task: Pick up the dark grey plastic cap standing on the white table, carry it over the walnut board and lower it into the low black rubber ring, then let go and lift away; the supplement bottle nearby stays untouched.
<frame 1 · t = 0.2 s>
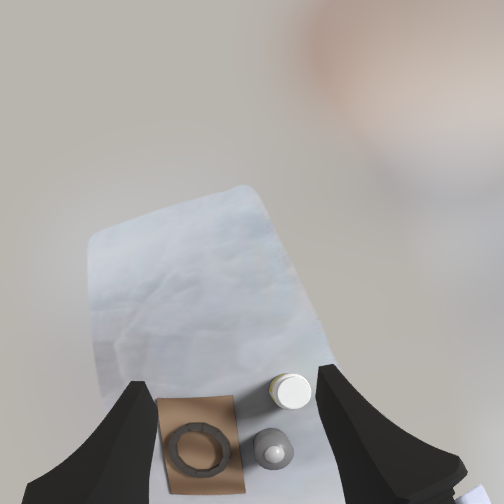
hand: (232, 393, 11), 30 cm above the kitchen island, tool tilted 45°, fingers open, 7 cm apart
ring board: (200, 448, 35), on the kitchen island
cap: (270, 443, 35), on the kitchen island
supplement bottle: (285, 389, 39), on the kitchen island
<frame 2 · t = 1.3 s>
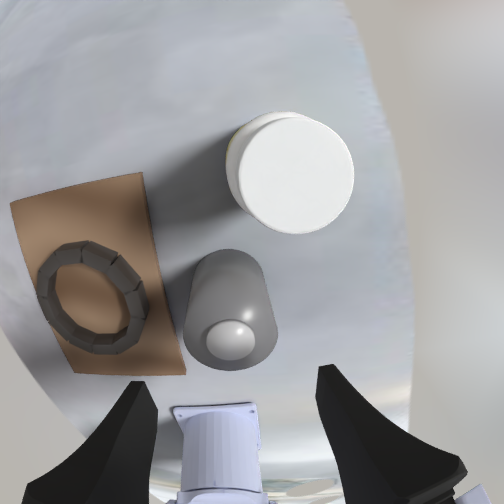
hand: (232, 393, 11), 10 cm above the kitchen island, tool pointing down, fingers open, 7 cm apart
ring board: (95, 293, 19), on the kitchen island
cap: (228, 282, 20), on the kitchen island
supplement bottle: (265, 157, 17), on the kitchen island
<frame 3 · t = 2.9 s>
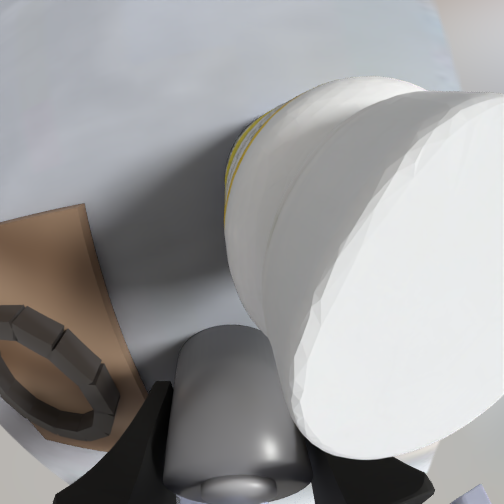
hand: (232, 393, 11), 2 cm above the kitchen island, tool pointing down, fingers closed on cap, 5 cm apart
ring board: (49, 366, 12), on the kitchen island
cap: (231, 366, 13), on the kitchen island, touching gripper
supplement bottle: (295, 176, 10), on the kitchen island
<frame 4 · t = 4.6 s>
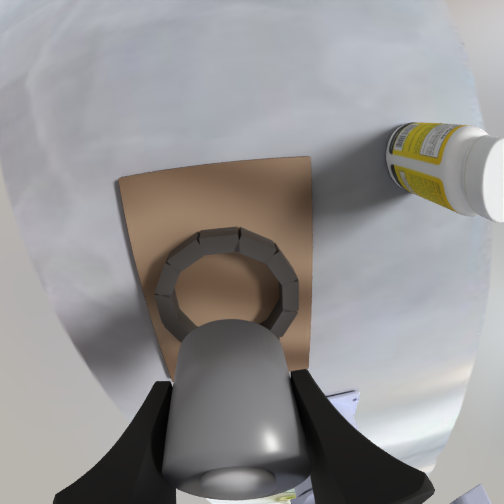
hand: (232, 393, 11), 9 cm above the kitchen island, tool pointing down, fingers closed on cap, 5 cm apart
ring board: (227, 287, 19), on the kitchen island
cap: (231, 361, 13), point 7 cm above the kitchen island, touching gripper
supplement bottle: (411, 156, 17), on the kitchen island
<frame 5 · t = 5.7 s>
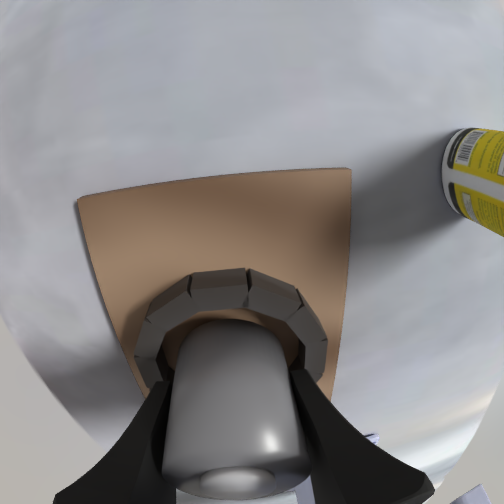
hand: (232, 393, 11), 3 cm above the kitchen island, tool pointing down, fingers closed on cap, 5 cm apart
ring board: (230, 341, 14), on the kitchen island
cap: (230, 360, 13), point 2 cm above the kitchen island, touching gripper
supplement bottle: (466, 170, 12), on the kitchen island
when the fingers open (3 cm above the kitchen island, at t = 6.5 s): cap stays where it is, resting on ring board.
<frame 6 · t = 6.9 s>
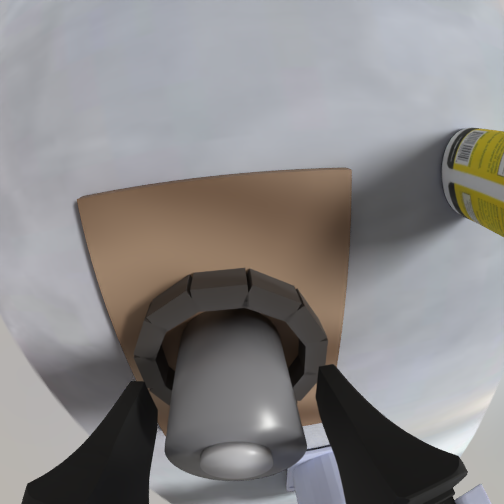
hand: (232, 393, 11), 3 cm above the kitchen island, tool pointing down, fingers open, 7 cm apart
ring board: (230, 341, 14), on the kitchen island
cap: (230, 347, 14), point 1 cm above the kitchen island, touching ring board
supplement bottle: (466, 170, 12), on the kitchen island
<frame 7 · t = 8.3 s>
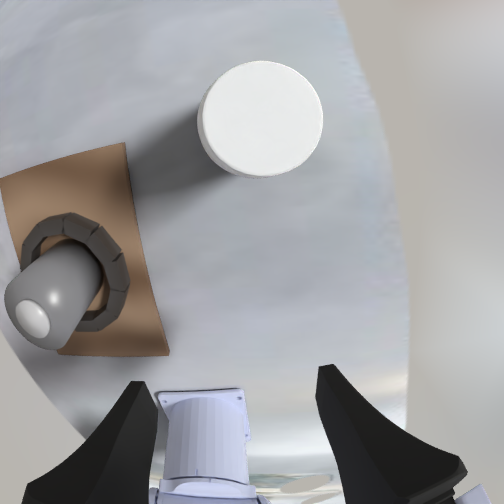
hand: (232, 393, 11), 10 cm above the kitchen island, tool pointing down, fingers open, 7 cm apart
ring board: (78, 268, 19), on the kitchen island
cap: (74, 270, 18), point 1 cm above the kitchen island, touching ring board
supplement bottle: (246, 125, 17), on the kitchen island
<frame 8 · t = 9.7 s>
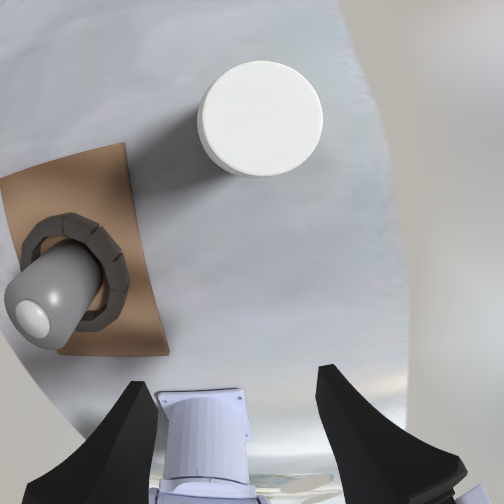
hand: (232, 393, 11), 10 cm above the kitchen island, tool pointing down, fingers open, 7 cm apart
ring board: (78, 268, 19), on the kitchen island
cap: (74, 270, 18), point 1 cm above the kitchen island, touching ring board
supplement bottle: (246, 125, 17), on the kitchen island
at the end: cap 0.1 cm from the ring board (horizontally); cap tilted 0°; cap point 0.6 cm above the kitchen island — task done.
